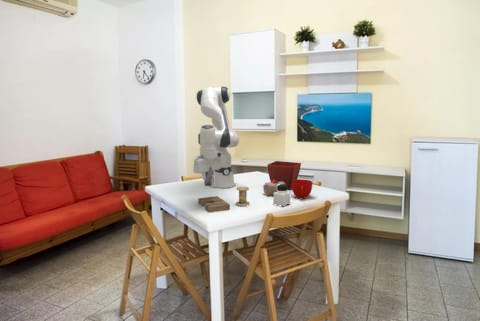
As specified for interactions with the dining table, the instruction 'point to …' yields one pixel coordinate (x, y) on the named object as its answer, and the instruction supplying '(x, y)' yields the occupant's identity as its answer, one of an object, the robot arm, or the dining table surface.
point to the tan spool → (242, 196)
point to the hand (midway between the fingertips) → (208, 178)
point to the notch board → (214, 204)
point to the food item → (271, 187)
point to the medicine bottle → (281, 195)
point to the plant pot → (284, 172)
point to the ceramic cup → (301, 188)
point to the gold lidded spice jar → (209, 177)
